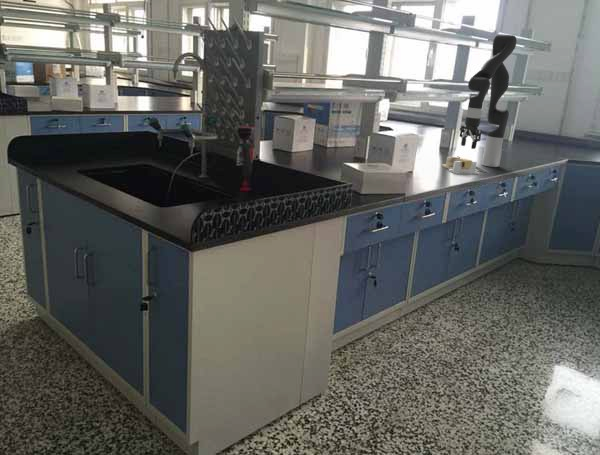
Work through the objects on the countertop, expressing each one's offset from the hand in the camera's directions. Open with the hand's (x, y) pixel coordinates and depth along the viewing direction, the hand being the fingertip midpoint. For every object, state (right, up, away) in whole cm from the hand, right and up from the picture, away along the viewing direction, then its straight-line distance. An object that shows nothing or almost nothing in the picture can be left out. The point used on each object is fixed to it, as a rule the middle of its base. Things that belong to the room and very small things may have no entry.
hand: (468, 147), depth 281 cm
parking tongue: (-5, -9, +15) cm, 18 cm away
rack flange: (-1, -13, +4) cm, 14 cm away
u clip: (-1, -10, +3) cm, 11 cm away
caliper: (+6, -11, +15) cm, 20 cm away
